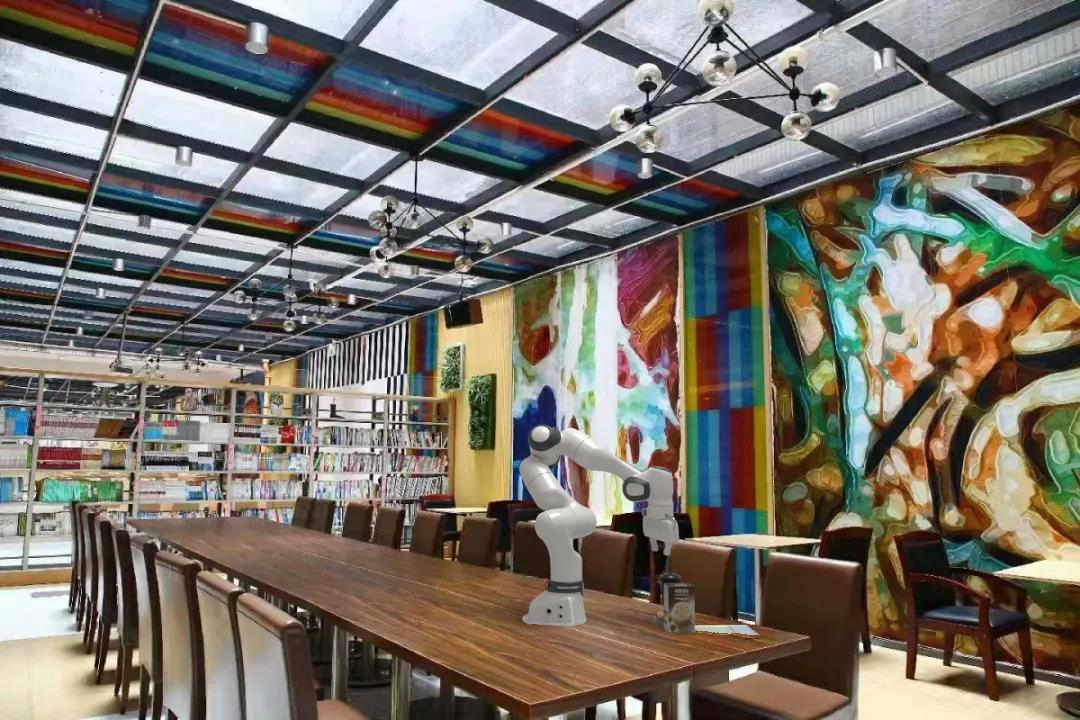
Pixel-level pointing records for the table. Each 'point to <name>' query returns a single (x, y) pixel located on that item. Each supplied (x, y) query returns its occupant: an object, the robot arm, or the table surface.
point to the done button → (660, 615)
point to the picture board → (726, 629)
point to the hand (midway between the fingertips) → (660, 552)
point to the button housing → (657, 621)
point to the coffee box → (679, 607)
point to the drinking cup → (669, 578)
